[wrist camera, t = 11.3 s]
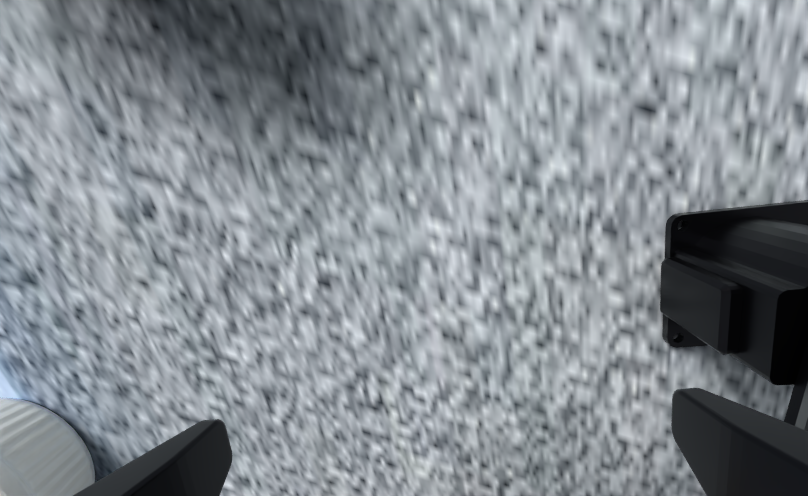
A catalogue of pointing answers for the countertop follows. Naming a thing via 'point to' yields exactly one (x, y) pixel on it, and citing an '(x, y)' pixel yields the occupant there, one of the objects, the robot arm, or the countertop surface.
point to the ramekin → (40, 452)
